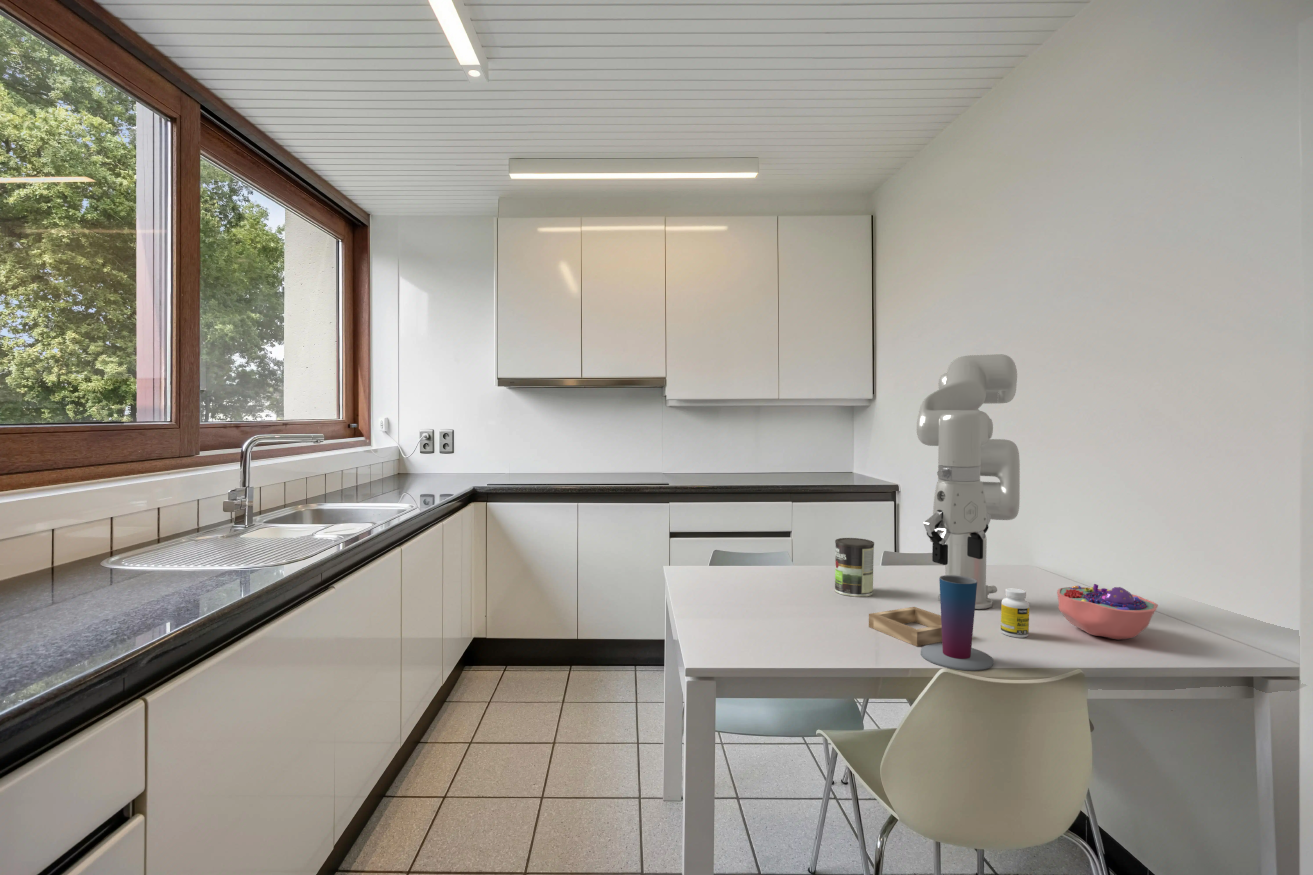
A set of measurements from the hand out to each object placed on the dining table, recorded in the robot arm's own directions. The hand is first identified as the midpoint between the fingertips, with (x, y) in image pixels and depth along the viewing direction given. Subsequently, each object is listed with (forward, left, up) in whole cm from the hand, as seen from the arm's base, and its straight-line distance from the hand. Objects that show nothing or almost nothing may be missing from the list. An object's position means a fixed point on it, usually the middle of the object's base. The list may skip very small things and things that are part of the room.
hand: (957, 560), depth 127 cm
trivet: (+1, 0, -19) cm, 19 cm away
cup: (0, 0, -19) cm, 19 cm away
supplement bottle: (-23, -5, -20) cm, 31 cm away
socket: (-4, -15, -19) cm, 25 cm away
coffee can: (-15, -47, -20) cm, 53 cm away
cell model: (-41, +3, -20) cm, 46 cm away
